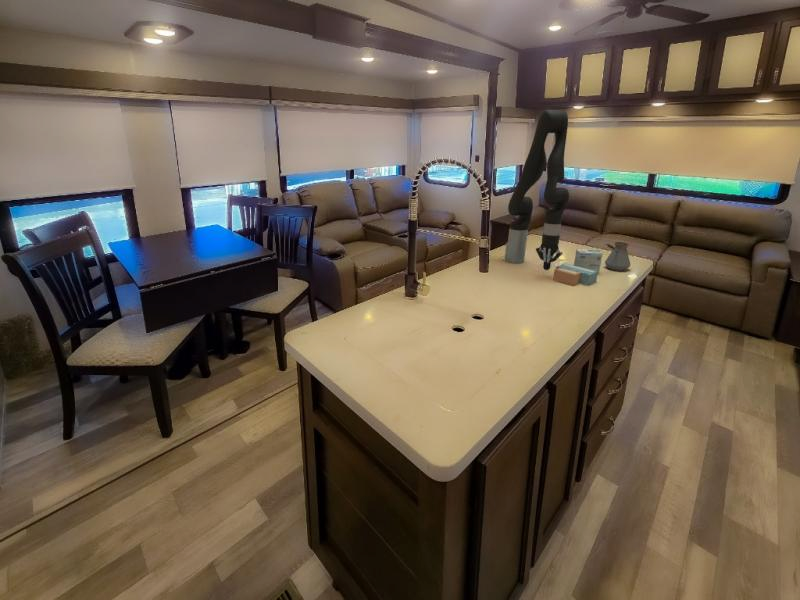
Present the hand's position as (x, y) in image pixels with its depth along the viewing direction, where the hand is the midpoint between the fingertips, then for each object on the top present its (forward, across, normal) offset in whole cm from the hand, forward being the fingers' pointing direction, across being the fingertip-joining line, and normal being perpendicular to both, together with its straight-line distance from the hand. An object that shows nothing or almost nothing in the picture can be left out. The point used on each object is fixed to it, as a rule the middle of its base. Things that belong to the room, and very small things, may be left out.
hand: (546, 269), depth 193 cm
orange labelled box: (+4, +10, 0) cm, 11 cm away
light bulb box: (+4, +9, +21) cm, 23 cm away
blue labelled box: (+4, +11, +7) cm, 14 cm away
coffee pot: (+4, +16, +34) cm, 38 cm away
